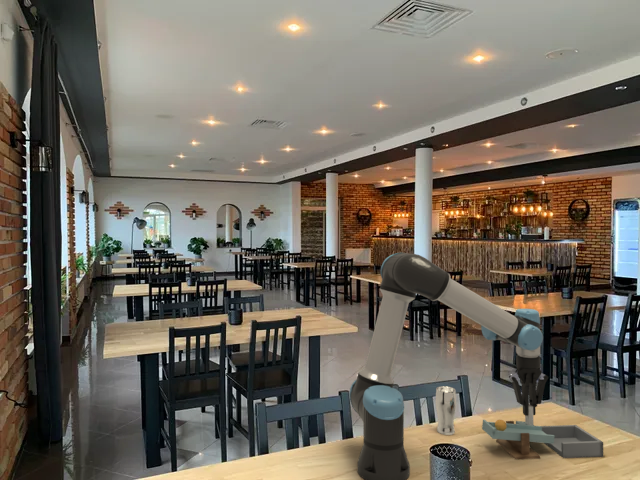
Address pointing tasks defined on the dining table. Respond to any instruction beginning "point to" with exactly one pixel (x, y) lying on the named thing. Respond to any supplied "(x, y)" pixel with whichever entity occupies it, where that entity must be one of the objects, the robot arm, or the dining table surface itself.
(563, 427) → the grey shallow open box
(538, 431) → the lever
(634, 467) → the dining table surface
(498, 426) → the ball
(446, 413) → the beer glass
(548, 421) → the dining table surface
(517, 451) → the fulcrum
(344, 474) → the dining table surface
